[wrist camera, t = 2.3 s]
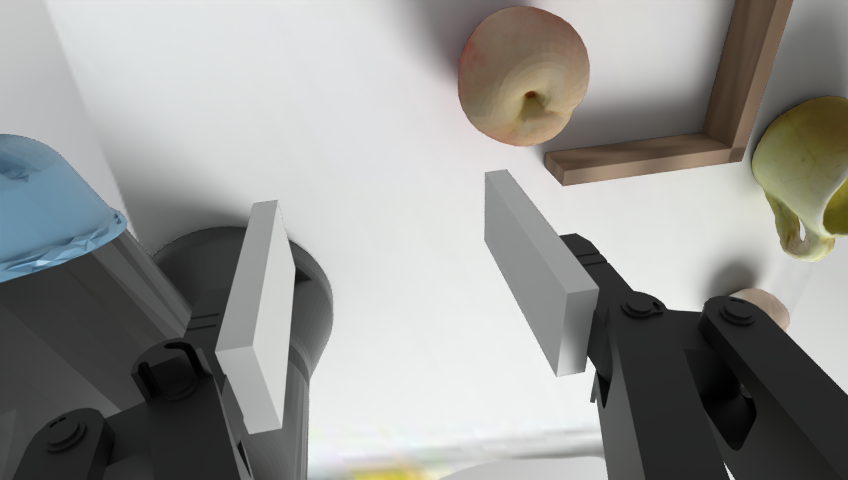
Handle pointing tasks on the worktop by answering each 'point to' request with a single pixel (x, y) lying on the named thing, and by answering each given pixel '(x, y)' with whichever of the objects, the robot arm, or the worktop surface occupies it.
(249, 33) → the worktop surface
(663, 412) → the robot arm
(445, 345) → the worktop surface
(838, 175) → the mug
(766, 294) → the garlic bulb
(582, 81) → the fruit
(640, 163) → the wooden frame
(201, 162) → the worktop surface
